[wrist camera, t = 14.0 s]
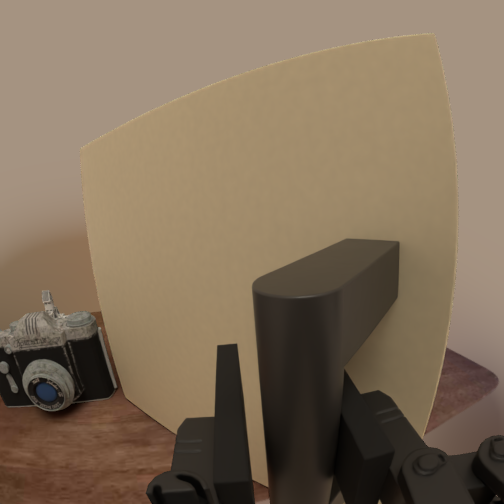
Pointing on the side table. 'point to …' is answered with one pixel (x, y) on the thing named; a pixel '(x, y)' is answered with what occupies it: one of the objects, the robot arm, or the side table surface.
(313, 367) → the cupboard door
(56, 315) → the house of cards
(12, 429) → the side table surface
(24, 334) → the camera
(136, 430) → the side table surface
